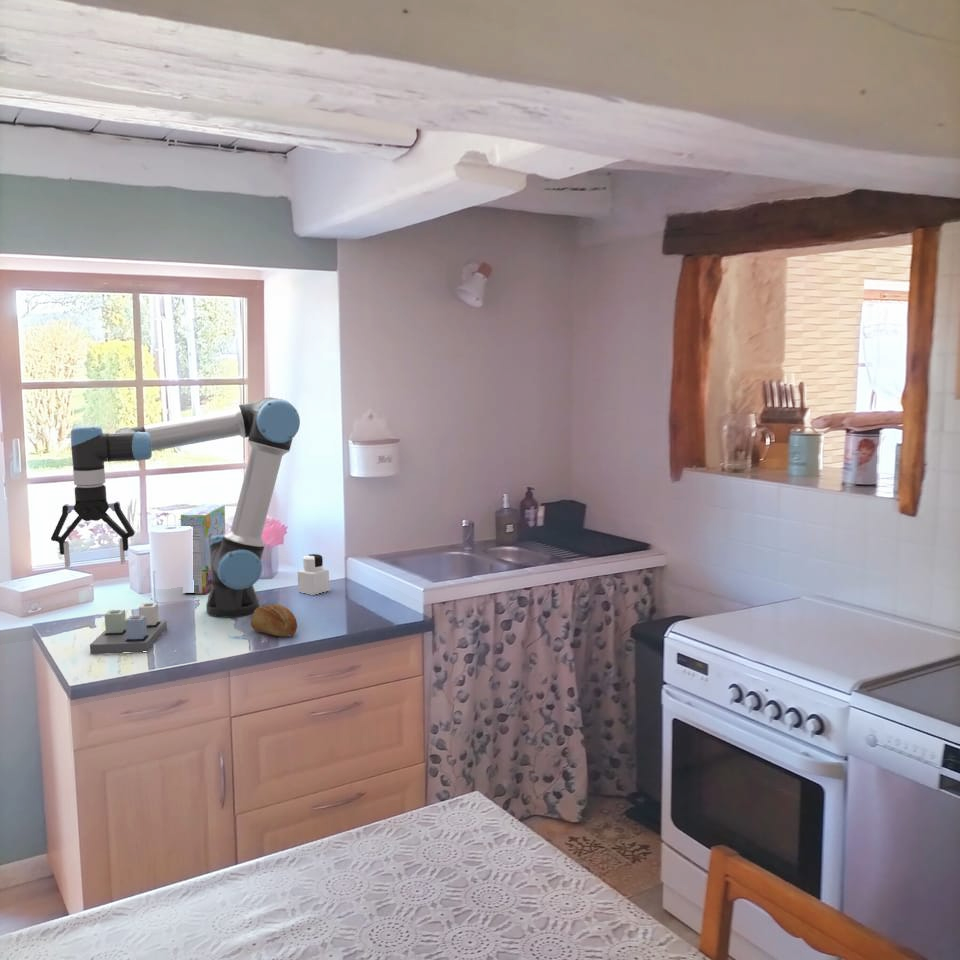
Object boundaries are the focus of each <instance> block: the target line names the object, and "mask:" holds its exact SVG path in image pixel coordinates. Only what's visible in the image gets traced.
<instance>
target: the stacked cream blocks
mask: <svg viewBox="0 0 960 960" xmlns="http://www.w3.org/2000/svg"><path fill="white" fill-rule="evenodd" d="M323 559H324V558H323V556H322V555H321V554H318V553H317V554H316V553H313V554H306V555H304V556H303V558H302V561H303V562H302V563H303V569H300V570H298V571H297V590H298V591H299V592H304V593H308V594H312V595H311V596H313V595H314V596H316V595H315V594H318V595H320V594H319V593H321V594H323V593H322V592H324V593H327V592H326V591H328V592H330V571H329V569H327V568H323V567H324V565H323V563H324V562H323ZM298 591H297V592H298ZM299 592H298V593H299ZM308 594H307V595H308Z"/></svg>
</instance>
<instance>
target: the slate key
mask: <svg viewBox="0 0 960 960" xmlns="http://www.w3.org/2000/svg"><path fill="white" fill-rule="evenodd" d="M125 621H126V638H127V639H143V638H144V637H145V636H146V635H147V627H146V616H139V615H130V616H129V615H128V617H127V619H126V620H125Z"/></svg>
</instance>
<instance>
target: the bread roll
mask: <svg viewBox="0 0 960 960" xmlns="http://www.w3.org/2000/svg"><path fill="white" fill-rule="evenodd" d="M250 626H251V628H252V629H253V631H255V632H258V633H264V634H268V635H272V636H275V637H284V636H285V637H290V636H289V635H291V636H294V635H295V634H296V633H297V628H298V622H297V619H296V617H295V615H294V613H293V612H292V611H291V610H290V609H289V608H287V607H285V606H283V605H281V604H274V603H272V604H266V605H259V607H258V608H256V610H255V611H254V613H252V615H251V619H250Z"/></svg>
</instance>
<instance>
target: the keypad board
mask: <svg viewBox="0 0 960 960" xmlns="http://www.w3.org/2000/svg"><path fill="white" fill-rule="evenodd" d="M167 623H168V622H167V619H165V620H163V619H161V620H160V619H159V621H158V622H157V623H156V624H155V625H146V627H147V635H146V636H145V637H144V638H143V639H127V638H126V629H125V630H124V631H123V632H122V633H106V629H105V630H103V632H102V633H100V634H99V635H98V637H96V638H95V639H94V640H93V641H92V642H91V643H90V644H89V652H90V654H89V655H105V653H113V654H124V653H123V652H143V651H148V650H149V649H150V650H151V648H152V647H153V646H154V645H155V644H156V643H157V641H158V640H159V639H160V638H161V637H162V635H163V634H164V633H165V632H166V631H167V630H168V626H167ZM165 630H166V631H165ZM164 631H165V632H164ZM163 632H164V633H163ZM162 633H163V634H162ZM160 636H161V637H160ZM159 637H160V638H159ZM158 638H159V639H158ZM155 642H156V643H155ZM154 643H155V644H154ZM153 644H154V645H153ZM152 645H153V646H152ZM150 650H149V651H150ZM149 651H148V652H149Z"/></svg>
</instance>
